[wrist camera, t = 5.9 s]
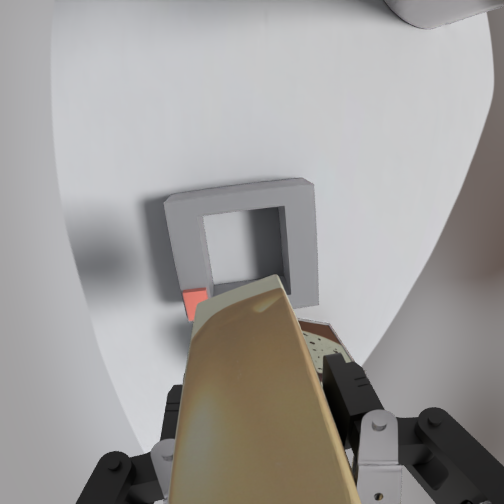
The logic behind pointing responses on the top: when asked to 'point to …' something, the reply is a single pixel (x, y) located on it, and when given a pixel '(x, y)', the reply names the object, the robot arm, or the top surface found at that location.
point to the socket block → (239, 199)
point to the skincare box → (255, 409)
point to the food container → (322, 343)
